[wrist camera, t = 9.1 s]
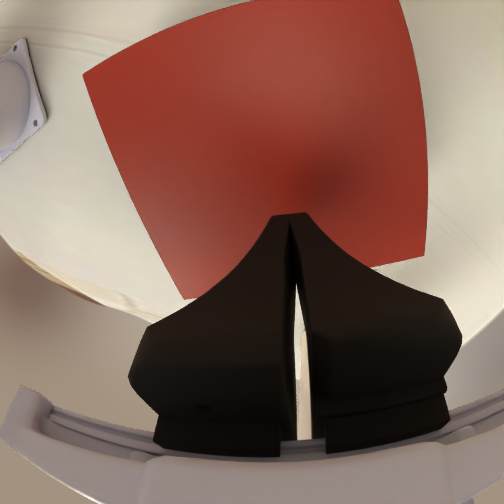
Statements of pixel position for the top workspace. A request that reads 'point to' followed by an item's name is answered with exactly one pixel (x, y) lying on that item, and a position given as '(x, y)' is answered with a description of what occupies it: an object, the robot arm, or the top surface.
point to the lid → (270, 132)
